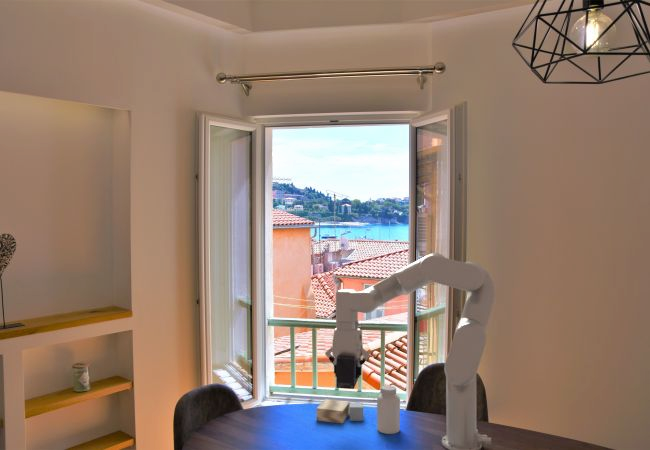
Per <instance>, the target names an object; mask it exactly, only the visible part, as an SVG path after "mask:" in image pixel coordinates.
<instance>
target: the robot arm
mask: <svg viewBox="0 0 650 450" xmlns="http://www.w3.org/2000/svg"><path fill="white" fill-rule="evenodd" d="M431 283H435V284H439V285H442V286H447V287H450V288H454V289H457V290H461V291H466V293H467V294H466V298H465V302H464V306H463V309H462V312H461V315H460V318H459V321H458V323H457V325H456V328H455V330H454V334H453V338H452V340H451V341H452V342H451V344H450V348H449V352H448V353H447V355H446V358H445V362H444V374H445V377H446V378H445V379H446V385H445V389H446V390H445V391H446V392H445V399H446V401H445V403H446V404H445V405H446V407H445V408H446V409H445V411H446V417H445V419H446V424H445V425H446V434H445V435H444V436H442V438H441V444H442V446H443V447H444V448H445V449H447V450H481V449H482V444H486V445H492V437H488V435H487V434H481V433H479V429H477V423H478V422H477V372H478V369H479V367H480V363H481V360H482V357H483V354H484V350H485V348H486V344H487V328H488V325H489V321H490V317H491V313H492V310H493V307H494V301H495V295H496V294H495V285H494V282H493V280H492V276H490V274H489V273H488V271H487V270H486V269H485V267H483V265H481V264H479V263H477V262H476V261H474V260H473V261H472V260H471V261H469V260H468V261H465V262H464V261H460V260H456V259H452V258H448V257H446V256H444V255H443V254H441V253H439V252H431V253H429V254H427V255H425V256H424V257H421V258H419V259H418V260H415V261H414V262H412V263H409V264H407V265H406V266H404V267H402V268H401V269H399V270H397V271H395V272H394V273H392V274H391V275H389V276H388V277H387V278H384V279H383V280H380V281H379V282H377V283H375V284H373V285H371V286H369V287H367V288H365V289H363V290H361V291H356V290H355V289H353V288H352V289H351V288H350V289H349V288H345V289H339V290H337V291H336V292H335V322H336V323H335V324H336V325H335V328H334V331H333V335H332V346H331V347H330V348H328V350H327V351H326V352H324V354H325V356H326V357H327V358H328V360H329V361H330V362H331V363H332V365H333V374H334V376H335V377H337V372H336V358H337V356H338V355H343V356H353V357H355V359H356V364H357V367H356V378H357V379H358V380H359V378H360V377H361V376H362V365H364V364H365V363H366V361H367V360H368V359H369V358H370V357H371V354H370V353H368V351H367V350H366V349H365V348H363V347H364V345H363V338H362V330H361V329H360V328H361V327H362V326H363V323H362V322H359V319H358V318H359V314H358V313H363V314H369V313H373V312H374V311H375V310H376V309H377V308H378V307H380V306H382V305H384V304H386V303H388V302H389V301H391V300H393V299H396V298H398V297H400V296H405V295H409V294H411V293H413V292H416V291H418V290H419V289H421V288H423V287H424V286H427V285H429V284H431ZM359 327H360V328H359ZM362 356H363V358H362V359H361V357H362Z"/></svg>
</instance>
